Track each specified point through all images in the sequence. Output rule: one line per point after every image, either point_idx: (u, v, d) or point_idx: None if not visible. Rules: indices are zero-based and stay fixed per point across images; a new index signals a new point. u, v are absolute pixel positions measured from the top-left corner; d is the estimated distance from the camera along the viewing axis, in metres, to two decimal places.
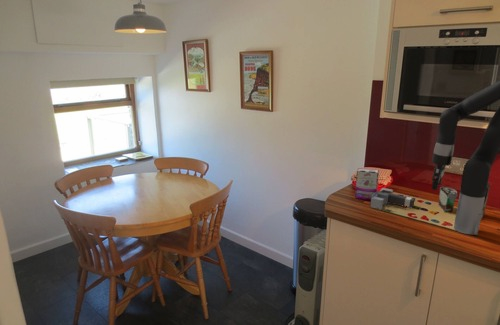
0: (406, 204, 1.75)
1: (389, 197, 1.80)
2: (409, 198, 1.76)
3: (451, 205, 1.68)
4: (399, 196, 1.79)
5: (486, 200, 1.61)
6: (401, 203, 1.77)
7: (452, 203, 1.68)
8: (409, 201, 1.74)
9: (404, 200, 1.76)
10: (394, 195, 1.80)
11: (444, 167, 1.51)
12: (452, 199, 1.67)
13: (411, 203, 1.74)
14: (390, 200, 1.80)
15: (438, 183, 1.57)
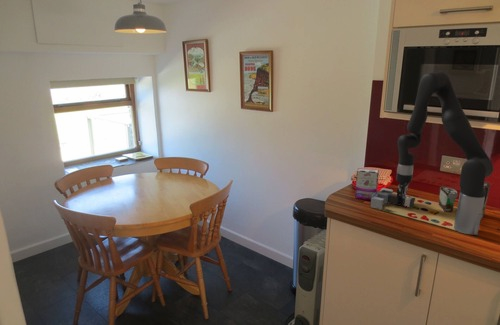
0: (406, 204, 1.75)
1: (389, 197, 1.80)
2: (409, 198, 1.76)
3: (451, 205, 1.68)
4: None
5: (486, 200, 1.61)
6: None
7: (452, 203, 1.68)
8: (409, 201, 1.74)
9: (404, 200, 1.76)
10: (394, 195, 1.80)
11: (407, 184, 1.76)
12: (452, 199, 1.67)
13: (411, 203, 1.74)
14: (390, 200, 1.80)
15: None
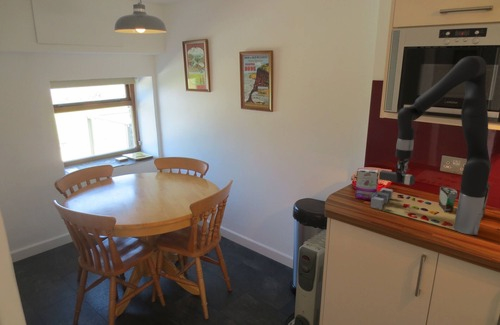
0: (406, 181, 1.65)
1: (388, 175, 1.70)
2: (409, 175, 1.66)
3: (451, 205, 1.68)
4: None
5: (486, 200, 1.61)
6: None
7: (452, 203, 1.68)
8: (409, 178, 1.64)
9: (404, 177, 1.66)
10: (393, 173, 1.70)
11: (407, 161, 1.66)
12: (452, 199, 1.67)
13: (411, 180, 1.64)
14: (389, 178, 1.70)
15: None
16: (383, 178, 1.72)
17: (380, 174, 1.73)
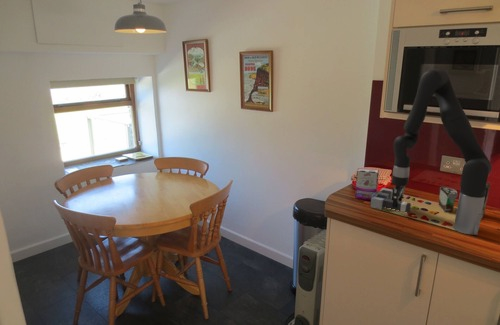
0: (402, 209, 1.69)
1: (384, 202, 1.74)
2: (405, 203, 1.69)
3: (451, 205, 1.68)
4: None
5: (486, 200, 1.61)
6: (397, 208, 1.71)
7: (452, 203, 1.68)
8: (405, 206, 1.68)
9: (400, 205, 1.69)
10: (389, 200, 1.74)
11: (403, 187, 1.70)
12: (452, 199, 1.67)
13: (407, 208, 1.67)
14: (385, 205, 1.74)
15: None
16: None
17: None
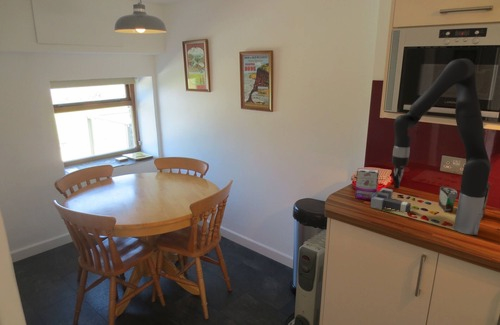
0: (402, 209, 1.69)
1: (384, 202, 1.74)
2: (405, 203, 1.69)
3: (451, 205, 1.68)
4: (395, 201, 1.72)
5: (486, 200, 1.61)
6: (397, 208, 1.71)
7: (452, 203, 1.68)
8: (405, 206, 1.68)
9: (400, 205, 1.69)
10: (389, 200, 1.74)
11: None
12: (452, 199, 1.67)
13: (407, 208, 1.67)
14: (385, 205, 1.74)
15: None
16: None
17: None
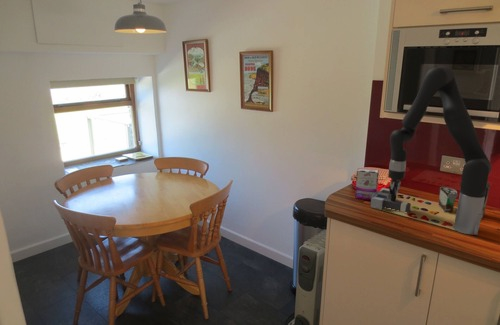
0: (402, 209, 1.69)
1: (384, 202, 1.74)
2: (405, 203, 1.69)
3: (451, 205, 1.68)
4: (395, 201, 1.72)
5: (486, 200, 1.61)
6: (397, 208, 1.71)
7: (452, 203, 1.68)
8: (405, 206, 1.68)
9: (400, 205, 1.69)
10: (389, 200, 1.74)
11: (399, 181, 1.70)
12: (452, 199, 1.67)
13: (407, 208, 1.67)
14: (385, 205, 1.74)
15: None
16: None
17: None
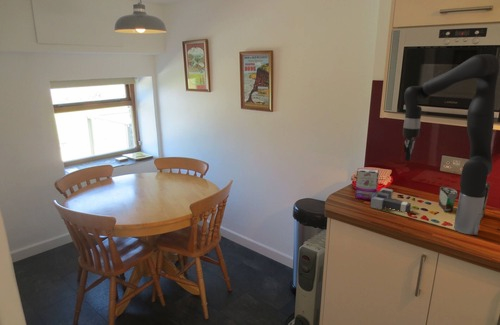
0: (402, 209, 1.69)
1: (384, 202, 1.74)
2: (405, 203, 1.69)
3: (451, 205, 1.68)
4: (395, 201, 1.72)
5: (486, 200, 1.61)
6: (397, 208, 1.71)
7: (452, 203, 1.68)
8: (405, 206, 1.68)
9: (400, 205, 1.69)
10: (389, 200, 1.74)
11: (414, 140, 1.70)
12: (452, 199, 1.67)
13: (407, 208, 1.67)
14: (385, 205, 1.74)
15: None
16: None
17: None
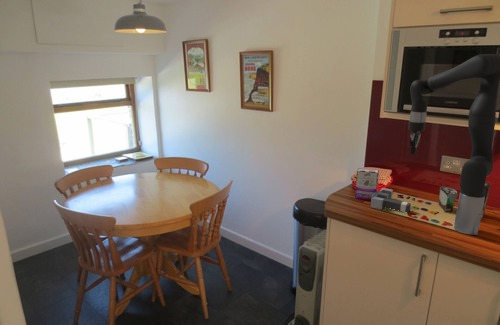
0: (402, 209, 1.69)
1: (384, 202, 1.74)
2: (405, 203, 1.69)
3: (451, 205, 1.68)
4: (395, 201, 1.72)
5: (486, 200, 1.61)
6: (397, 208, 1.71)
7: (452, 203, 1.68)
8: (405, 206, 1.68)
9: (400, 205, 1.69)
10: (389, 200, 1.74)
11: (419, 133, 1.71)
12: (452, 199, 1.67)
13: (407, 208, 1.67)
14: (385, 205, 1.74)
15: None
16: None
17: None
